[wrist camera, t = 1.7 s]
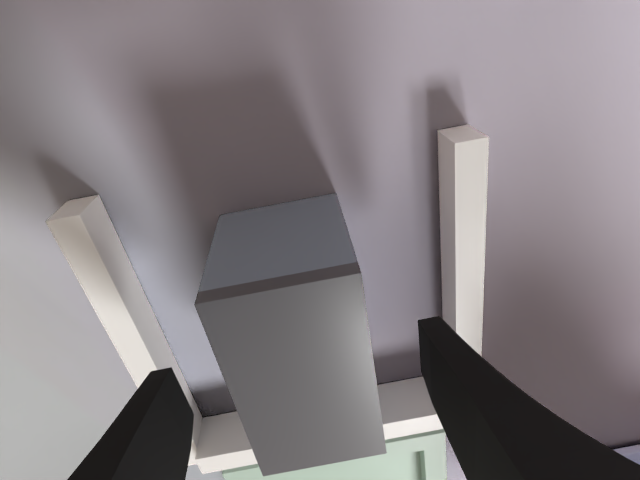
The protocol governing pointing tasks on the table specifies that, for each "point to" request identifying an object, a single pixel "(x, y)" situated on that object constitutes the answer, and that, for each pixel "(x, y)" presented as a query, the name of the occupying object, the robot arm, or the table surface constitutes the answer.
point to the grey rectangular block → (293, 334)
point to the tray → (372, 463)
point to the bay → (226, 429)
